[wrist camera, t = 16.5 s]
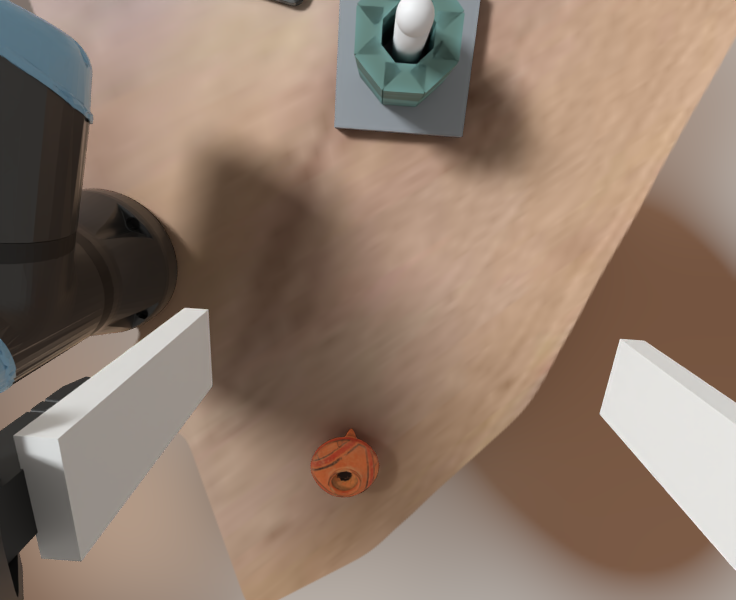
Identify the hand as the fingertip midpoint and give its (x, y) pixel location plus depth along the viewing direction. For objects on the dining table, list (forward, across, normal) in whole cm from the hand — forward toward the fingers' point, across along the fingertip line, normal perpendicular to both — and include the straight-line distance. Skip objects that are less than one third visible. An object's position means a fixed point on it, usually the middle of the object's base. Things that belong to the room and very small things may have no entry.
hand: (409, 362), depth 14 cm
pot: (+32, +3, +28) cm, 43 cm away
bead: (+30, 0, -15) cm, 34 cm away
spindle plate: (+32, 0, -15) cm, 35 cm away
